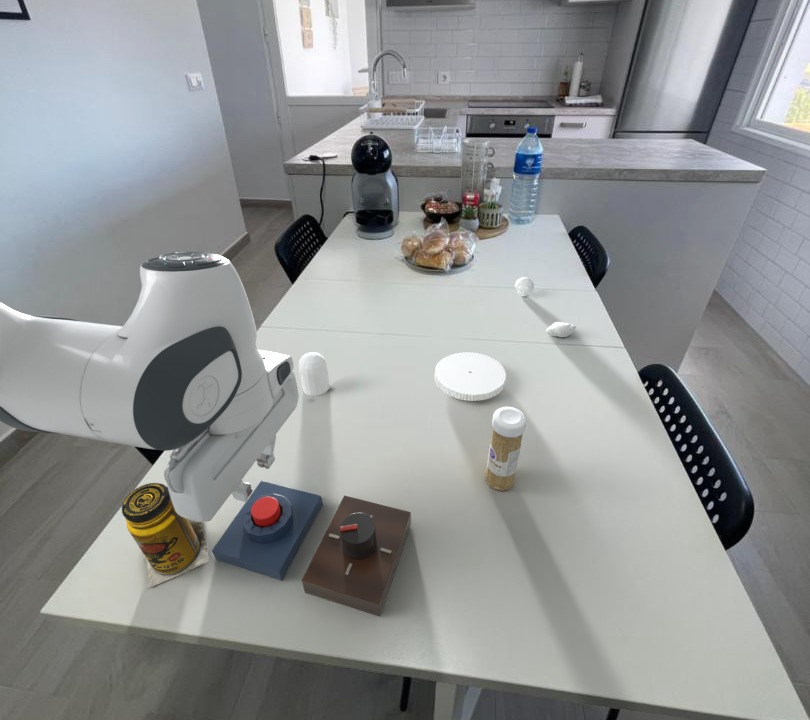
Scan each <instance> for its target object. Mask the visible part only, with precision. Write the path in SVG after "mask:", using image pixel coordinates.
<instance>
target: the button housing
mask: <svg viewBox="0 0 810 720" xmlns="http://www.w3.org/2000/svg"><path fill="white" fill-rule="evenodd" d="M263 497H273V498H275V499H276V500H277V501H278V504H279V507H280V511H281V514H280V517H279V519H278V520H277V522H275V523H274V524H273V525H271V526H267V527H261V526H258V525H257V524H256V523H255V522H254V519H253V517H252V514H251V509H252V506H253V504H254V503H255V502H256V501H257V500H259V499H261V498H263ZM323 505H324V503H323V499H322V495H320V494H316V493H312V492H308V491H304V490H301V489H297V488H293V487H288V486H284V485H281V484H277V483H274V482H269V481H266V480H260V481H259V483H258V484H257V486H256V487H255V489H254V490H253V491H252V493H251V494H250V496H249V497H248V499H247V500H246V501H245V503H244V504H243V506H242V507H241V509H240V510H239V511H238V513H237V514H236V515H235V517H234V518H233V520H232V521H231V522H230V524H228V525H229V526H228V527H227V529H226V530H225V531H224V533H223V534H222V535H221V536H220V538H219V539H218V541H217V543H216V544H215V545H214V547H213V548H212V550H211V553H212V555H213V557H214V559H215V560H216V561H217V562H222V563H224V564H227V565H231V566H233V567H237V568H240V569H243V570H246V571H249V572H252V573H256V574H258V575H262V576H265V577H269V578H271V579H275V580H277V581H281V582H282V581H283V580H284V578H285V577H286V575H287V573H288V571H289V569H290V567H291V565H292V564H293V562H294V560H295V558H296V556H297V554H298V553H299V551H300V548H301V547H302V545H303V544H304V542H305V539H306V537H307V536H308V534H309V532H310V530H311V529H312V526H313V525H314V523H315V521H316V519H317V517H318V515H319V513H320V512H321V510H322V507H324V506H323Z"/></svg>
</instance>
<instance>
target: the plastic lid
mask: <svg viewBox="0 0 810 720" xmlns="http://www.w3.org/2000/svg"><path fill="white" fill-rule="evenodd" d="M506 381H507V371H506V369H505V367H504V366H503V365H502V363H500V362H499V361H498V360H497V359H494V357H492V356H489V355H487V354H483V353H480V352H479V353H478V352H472V351H470V352H469V351H467V352H466V351H464V352H463V351H461V352H455V353H452V354H449V355H446V356H445V357H443V358H441V359H440V360H439V361H438V363H436V364H435V368H434V382H435V384H436V386H437V387H438V389H440V391H441V392H443V393H444V395H445V394H446V395H447V396H449V397H451V398H455V399H456V400H457V399H458V400H461V401H465V402H466V401H468V402H470V401H471V402H477V401H478V402H480V401H486V400H489V399H492V398H494V397H497V395H499V394H501V392H502V391H503V390H504V389H505V386H506Z"/></svg>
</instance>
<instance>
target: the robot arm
mask: <svg viewBox="0 0 810 720" xmlns="http://www.w3.org/2000/svg"><path fill="white" fill-rule="evenodd" d="M139 277H140V283H141V289H140V292H139V297H138V300H137V302H136V304H135V306H134V308H133V311H132V312H131V314H130V315H129V317H128V319H127V321H125V323H124V324H123V325H122V326H121V325H113V324H104V323H96V322H89V321H81V320H77V319H72V318H67V317H61V316H55V315H50V314H49V315H47V314H36V313H32V314H31V313H24V312H23V313H22V312H20V311H17V310H15V309H13V308H11V307H10V306H8V305H6V304H4V303H3V302H1V301H0V422H1V423H3V424H5V425H6V426H9V427H11V428H13V429H15V430H19V431H25V432H32V433H33V432H35V433H45V434H56V435H57V434H58V435H66V436H71V437H78V438H82V439H87V440H94V441H100V442H107V443H111V444H119V445H125V446H130V447H136V448H142V449H148V450H157V451H164V452H165V451H166V452H167V451H172V452H171V453H170V455H169V461H168V462H167V465H166V468H165V470H164V471H163V478H164V480H165V482H166V485H167V486H166V487H168V490H169V494H170V497H171V500H172V503H173V506H174V508H175V511H176V513H177V514H178V515H180V516H181V517H184V518H186V519H189V520H193V521H197V522H202V523H206V522H210V521H211V520H213V518H214V517H215V516H216V515H217V513H218V512H219V511H220V509H221V508H222V506H223V505H224V504H225V503H226V501H227V500H228V498H230V496H231V495H232V497H233V498H234V499H235V500H236V501H241V502H245V503H246V501H247V500H248V499H249V497H250V496H251V494H252V493H253V489H252V484H251V483H249V482H247V481H246V482H243V479H244V477H245V476H246V475H247V473H248V472H249V471H250V469H251V468H252V467H253V466H254V465H255V463H256V465H257V466H258V467H259V468H264V469H267V470H269V469H270V468H271V466H273V464H274V462H275V461H276V458H275V453H274V452H275V451H274V450H275V446H276V441H277V434H278V433H279V431H280V430H281V429H282V427H283V426H284V425H285V423H286V422H287V420H288V419H289V417H291V415H292V414H293V412H294V411H295V410H296V409H297V406H298V402H299V398H300V397H299V396H300V395H299V389H298V388H299V387H298V383H297V378H296V374H295V372H294V367H295V365H294V360H293V357H292V356H290V355H287V354H283V353H280V352H274V351H270V350H269V351H268V350H264V349H263V350H262V349H258V346H257V337H258V335H257V334H258V333H257V331H258V330H257V326H256V322H255V318H254V315H253V310H252V308H251V304H250V301H249V298H248V295H247V292H246V289H245V287H244V284H243V282H242V279H241V277H240V275H239V273H238V271H237V268H235V266H234V264H233V263H232V262H231V261H230V259H228V258H226V257H224V256H222V255H220V254H216V253H212V252H203V251H180V252H177V251H174V252H168V253H163V254H160V255H159V254H158V255H155V256H153V257H150V258H148V259H147V260H145V261H144V262H142V263H141V264H140V267H139Z"/></svg>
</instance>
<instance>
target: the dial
mask: <svg viewBox="0 0 810 720" xmlns="http://www.w3.org/2000/svg"><path fill="white" fill-rule="evenodd" d="M340 534H341V540H342V546H343V550H344V552H345V554H346V555H347V556H348V557H350V558H352V559H364V558H366V557H368V556H370V555H371V554H372V553H373V552H374V550H375V548H376V544H377V540H376V530H375V523H374V520H373V519H372V518H371V517H370V516H369V515H367V514H365V513H353V514H351V515H349V516H347V517H346V518H345V519H344V520H343V522H342V523H341V526H340Z"/></svg>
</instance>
